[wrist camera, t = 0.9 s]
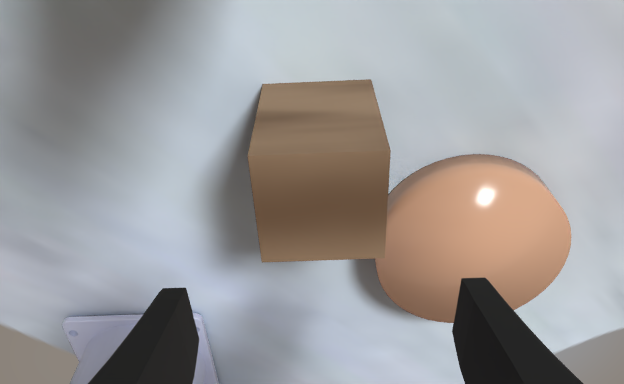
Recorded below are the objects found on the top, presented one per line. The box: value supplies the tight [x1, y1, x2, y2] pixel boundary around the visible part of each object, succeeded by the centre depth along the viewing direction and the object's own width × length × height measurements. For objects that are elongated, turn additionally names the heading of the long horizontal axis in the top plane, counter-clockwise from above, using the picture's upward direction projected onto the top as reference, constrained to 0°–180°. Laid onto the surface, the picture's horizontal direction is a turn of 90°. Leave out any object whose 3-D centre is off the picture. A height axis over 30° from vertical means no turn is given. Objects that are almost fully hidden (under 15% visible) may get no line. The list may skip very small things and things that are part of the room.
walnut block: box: [248, 80, 390, 262], centre depth 19 cm, size 4×4×6 cm
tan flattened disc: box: [375, 154, 571, 323], centre depth 24 cm, size 9×9×2 cm
